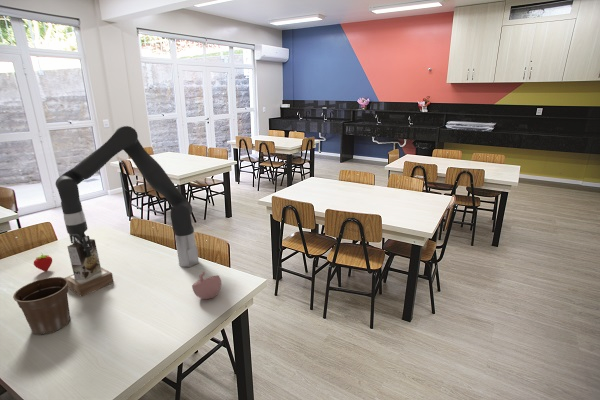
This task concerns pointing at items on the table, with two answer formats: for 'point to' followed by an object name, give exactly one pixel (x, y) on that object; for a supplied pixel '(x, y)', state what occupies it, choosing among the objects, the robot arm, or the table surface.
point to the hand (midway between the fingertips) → (83, 254)
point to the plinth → (90, 282)
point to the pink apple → (207, 286)
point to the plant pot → (44, 304)
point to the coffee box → (84, 261)
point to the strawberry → (43, 262)
